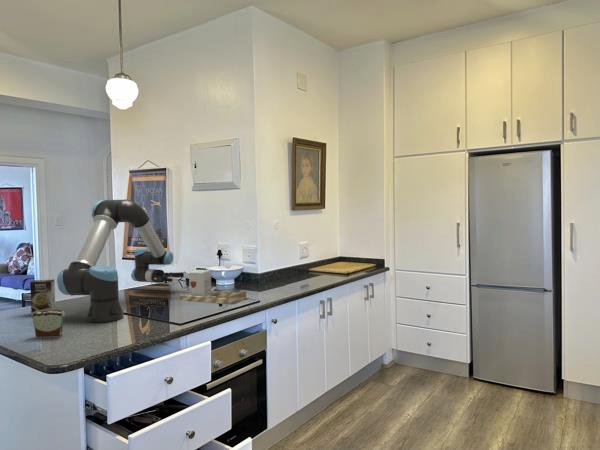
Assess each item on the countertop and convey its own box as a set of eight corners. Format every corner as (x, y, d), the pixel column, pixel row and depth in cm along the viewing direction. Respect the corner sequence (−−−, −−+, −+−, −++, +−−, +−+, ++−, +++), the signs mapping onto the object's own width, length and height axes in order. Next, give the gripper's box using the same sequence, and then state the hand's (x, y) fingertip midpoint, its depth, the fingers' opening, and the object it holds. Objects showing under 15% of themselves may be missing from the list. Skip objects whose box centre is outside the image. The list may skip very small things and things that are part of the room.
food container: (71, 332, 178) (70, 307, 178) (64, 336, 172) (63, 311, 172) (40, 333, 178) (39, 308, 177) (31, 337, 172) (30, 312, 171)
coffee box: (30, 316, 206) (29, 282, 205) (35, 313, 212) (33, 280, 212) (52, 314, 209) (51, 280, 208) (56, 311, 215) (54, 278, 214)
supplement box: (189, 299, 237) (188, 271, 236) (196, 296, 245) (196, 269, 245) (204, 300, 235) (203, 272, 234) (211, 296, 243) (211, 269, 243)
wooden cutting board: (179, 300, 236) (179, 292, 236) (201, 293, 254) (201, 286, 254) (230, 304, 223) (230, 296, 223) (250, 296, 241) (249, 289, 241)
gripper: (170, 278, 264) (199, 280, 255) (139, 286, 241) (170, 289, 233) (169, 266, 263) (199, 267, 255) (139, 273, 241) (170, 274, 232)
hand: (185, 277), depth 244 cm, fingers open, 13 cm apart
